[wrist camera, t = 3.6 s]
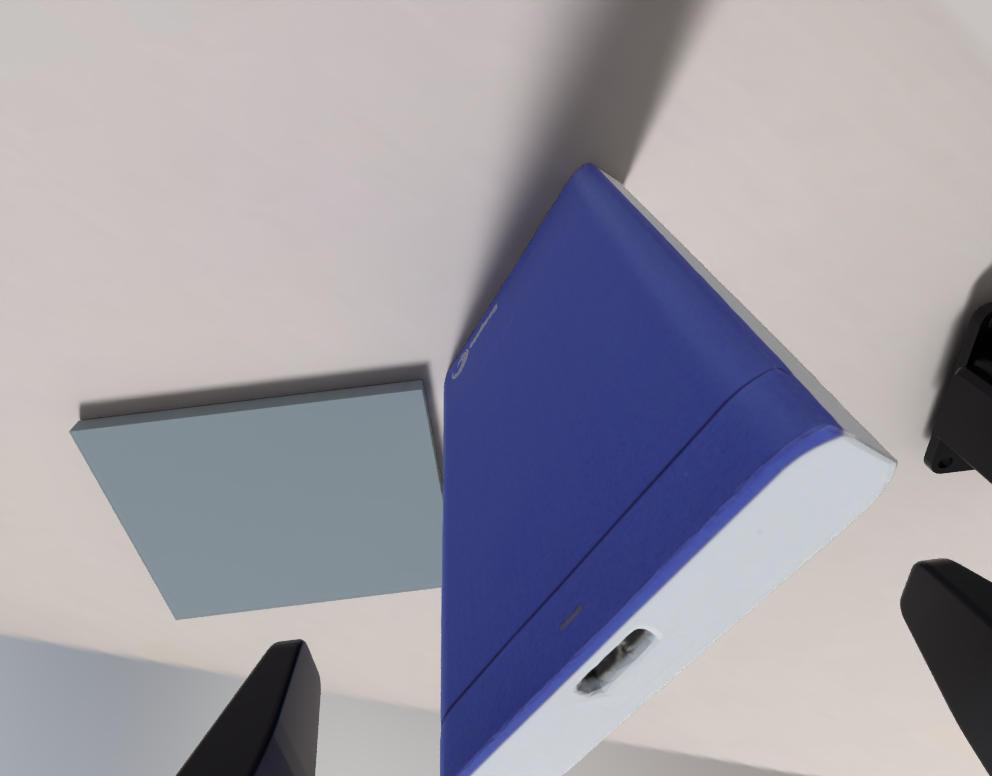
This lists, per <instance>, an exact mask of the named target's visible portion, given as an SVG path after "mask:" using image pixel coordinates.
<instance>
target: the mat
mask: <svg viewBox="0 0 992 776" xmlns="http://www.w3.org/2000/svg"><path fill="white" fill-rule="evenodd" d="M69 432H70V434H71V436H72V437H73V439H74V441H75V443H76V444H77V446H78V448H79V450H80V452H81V453H82V455H83V457H84V459H85V460H86V462H87V464H88V466H89V467H90V469H91V471H92V473H93V474H94V476H95V478H96V480H97V482H98V483H99V485H100V487H101V489H102V490H103V492H104V494H105V496H106V497H107V499H108V501H109V503H110V504H111V506H112V508H113V510H114V512H115V513H116V515H117V517H118V519H119V520H120V522H121V524H122V526H123V527H124V529H125V531H126V533H127V534H128V536H129V538H130V540H131V542H132V543H133V545H134V547H135V549H136V550H137V552H138V554H139V556H140V557H141V559H142V561H143V563H144V564H145V566H146V568H147V570H148V572H149V573H150V575H151V577H152V579H153V580H154V582H155V584H156V586H157V587H158V589H159V591H160V593H161V594H162V596H163V598H164V600H165V602H166V603H167V605H168V607H169V609H170V610H171V612H172V614H173V616H174V617H175V619H176V620H180V619H188V618H196V617H204V616H212V615H220V614H228V613H237V612H245V611H253V610H261V609H269V608H277V607H285V606H293V605H302V604H310V603H318V602H326V601H334V600H342V599H350V598H359V597H367V596H375V595H383V594H391V593H399V592H407V591H415V590H424V589H432V588H440V587H442V528H443V487H442V482H441V477H440V471H439V466H438V460H437V455H436V450H435V444H434V439H433V433H432V428H431V423H430V417H429V412H428V407H427V401H426V396H425V390H424V385H423V380H416V381H407V382H399V383H391V384H382V385H374V386H366V387H357V388H349V389H340V390H332V391H324V392H315V393H307V394H299V395H290V396H282V397H273V398H265V399H257V400H248V401H240V402H232V403H223V404H215V405H207V406H198V407H190V408H181V409H173V410H165V411H156V412H148V413H140V414H131V415H123V416H114V417H106V418H98V419H89V420H81V421H78V422H77V424H76V425H75V426H74V427H73V428H72V429H71V430H70V431H69Z"/></svg>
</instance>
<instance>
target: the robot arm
mask: <svg viewBox="0 0 992 776" xmlns="http://www.w3.org/2000/svg"><path fill="white" fill-rule="evenodd" d="M991 319H992V302H990V303H986V304H984V305H983V306H981V307H980V308H979V309H978V310H977V311H976V312H975V313H974V314H973V316H972V318H971V321H970V324H969V327H968V330H967V333H966V336H965V339H964V342H963V344H962V347H961V350H960V353H959V356H958V359H957V362H956V365H955V368H954V371H953V374H952V377H951V380H950V383H949V386H948V389H947V391H946V394H945V397H944V400H943V403H942V406H941V409H940V412H939V415H938V418H937V421H936V424H935V427H934V430H933V433H932V436H931V439H930V441H929V444H928V447H927V450H926V453H925V456H924V463H925V465H926V466H927V467H929V468H930V469H931V470H932V471H933V472H935V473H938V474H942V473H951V472H959V471H967V470H976V471H977V472H979V473H980V474H981V475H982V476H983V477H984V478H985V479H987V480H988V481H989V482H990V483H991V484H992V321H990V320H991ZM900 607H901V612H902V615H903V618H904V620H905V622H906V624H907V626H908V628H909V630H910V632H911V634H912V636H913V638H914V640H915V642H916V644H917V646H918V647H919V649H920V651H921V653H922V655H923V657H924V659H925V661H926V663H927V665H928V667H929V669H930V671H931V673H932V675H933V677H934V679H935V681H936V683H937V685H938V687H939V689H940V691H941V693H942V695H943V697H944V699H945V701H946V703H947V705H948V707H949V709H950V710H951V712H952V714H953V716H954V718H955V720H956V721H957V723H958V725H959V727H960V729H961V730H962V732H963V734H964V735H965V737H966V739H967V740H968V742H969V744H970V745H971V747H972V748H973V750H974V751H975V753H976V755H977V756H978V758H979V759H980V761H981V763H982V764H983V766H984V767H985V769H986V771H987V772H988V774H989V775H990V776H992V582H990V581H988V580H987V579H985V578H983V577H981V576H980V575H978V574H976V573H974V572H973V571H971V570H969V569H967V568H965V567H964V566H962V565H960V564H958V563H956V562H954V561H952V560H949V559H941V558H940V559H932V560H924V561H919V562H917V563H916V564H914V565H913V567H912V569H911V572H910V575H909V577H908V580H907V582H906V585H905V588H904V590H903V593H902V596H901V599H900ZM320 695H321V683H320V676H319V673H318V670H317V668H316V665H315V663H314V660H313V658H312V655H311V653H310V651H309V648H308V646H307V644H306V642H305V641H303V640H301V639H297V640H289V641H281V642H277V643H275V644H273V645H272V646H271V647H270V648H269V649H268V650H267V652H266V653H265V654H264V656H263V657H262V658H261V660H260V661H259V663H258V664H257V665H256V667H255V668H254V669H253V671H252V672H251V674H250V675H249V676H248V678H247V679H246V680H245V682H244V683H243V684H242V686H241V687H240V689H239V690H238V691H237V693H236V694H235V695H234V697H233V698H232V700H231V701H230V702H229V704H228V705H227V707H226V708H225V709H224V711H223V712H222V713H221V715H220V716H219V717H218V719H217V720H216V722H215V723H214V724H213V726H212V727H211V728H210V730H209V731H208V732H207V734H206V735H205V736H204V738H203V739H202V741H201V742H200V744H199V745H198V746H197V747H196V749H195V750H194V752H193V753H192V754H191V756H190V757H189V758H188V760H187V761H186V763H185V764H184V765H183V767H182V768H181V769H180V771H179V772H178V773H177V775H176V776H315V767H316V753H317V738H318V724H319V708H320Z"/></svg>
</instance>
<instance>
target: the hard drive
mask: <svg viewBox="0 0 992 776" xmlns="http://www.w3.org/2000/svg"><path fill="white" fill-rule="evenodd" d="M896 466H897V460H896V459H895V458H894V457H893V456H892V455H891V454H890V453H889V452H888V451H887V450H885V448H884V447H883V446H882V445H881V444H880V443H879V442H878V441H877V440H876V439H875V438H874V437H873V436H872V435H871V434H870V433H869V432H868V431H867V430H866V429H865V428H864V427H863V426H862V425H861V424H860V423H859V422H858V421H857V420H856V419H855V418H854V417H853V416H852V415H851V414H850V413H849V412H848V411H847V410H846V409H845V408H844V407H843V406H842V405H841V404H840V403H839V401H838V400H837V399H836V398H835V397H834V396H833V395H832V394H831V393H830V392H829V391H828V390H827V389H825V388H824V387H823V386H822V385H821V384H820V382H819V381H818V380H817V379H816V378H815V376H814V375H813V374H812V373H811V372H810V371H808V370H807V369H806V368H805V367H804V366H803V365H802V364H801V363H800V362H799V361H798V360H797V358H796V357H795V356H794V355H793V354H792V353H791V352H790V351H789V350H788V349H787V348H786V347H785V346H784V345H783V344H782V343H781V342H780V341H779V340H778V339H777V338H776V337H775V336H774V335H773V334H772V333H771V332H770V331H769V330H768V329H767V328H766V327H765V326H764V325H763V324H762V323H761V322H760V321H759V320H758V319H757V318H756V317H755V316H754V315H753V314H752V313H751V312H750V311H749V310H748V309H747V308H746V307H745V306H744V305H743V304H742V303H741V302H740V301H739V300H738V299H737V298H736V297H735V296H734V295H733V294H732V293H731V292H729V291H728V290H727V289H726V288H725V287H724V286H723V285H722V284H721V283H720V282H719V281H718V279H717V278H715V277H714V276H713V275H712V274H711V273H710V272H709V271H708V270H707V269H706V268H705V267H704V265H703V264H702V263H701V262H700V261H699V260H697V259H696V258H695V257H694V256H693V255H692V254H691V253H690V252H689V251H688V250H687V248H685V247H684V246H683V245H682V244H681V243H680V242H679V241H678V240H677V239H676V238H675V237H674V236H673V235H672V234H671V233H670V232H669V231H668V230H667V229H666V228H665V227H664V226H663V225H662V224H661V223H660V222H659V221H658V220H657V219H656V218H655V217H654V216H653V215H652V214H651V213H650V212H649V211H648V210H647V209H646V208H645V207H644V206H643V205H642V204H641V203H640V202H639V201H638V200H637V199H636V198H635V197H634V196H633V195H632V194H631V193H630V192H629V191H628V190H627V189H626V188H625V187H624V186H623V185H622V184H621V183H620V182H619V181H617V180H616V179H614V178H613V177H611V176H610V175H608V174H606V173H605V172H603V171H602V170H601V169H599V168H597V167H595V166H594V165H592V164H589V163H587V164H585V165H584V166H582V167H581V168H580V169H579V170H578V171H577V172H576V173H575V174H574V175H573V176H572V177H571V178H570V180H569V181H568V182H567V184H566V185H565V187H564V189H563V190H562V192H561V194H560V195H559V197H558V198H557V200H556V202H555V203H554V205H553V206H552V208H551V209H550V211H549V212H548V214H547V215H546V217H545V219H544V221H543V222H542V223H541V225H540V226H539V228H538V230H537V231H536V233H535V235H534V236H533V238H532V239H531V241H530V243H529V244H528V246H527V248H526V249H525V251H524V252H523V254H522V255H521V257H520V259H519V260H518V261H517V263H516V265H515V266H514V268H513V270H512V271H511V273H510V274H509V276H508V277H507V279H506V281H505V283H504V284H503V286H502V287H501V289H500V290H499V292H498V294H497V295H496V297H495V299H494V300H493V302H492V303H491V305H490V307H489V308H488V309H487V311H486V312H485V313H484V315H483V317H482V319H481V321H480V322H479V324H478V325H477V326H476V328H475V330H474V332H473V333H472V335H471V336H470V338H469V340H468V341H467V343H466V344H465V346H464V347H463V349H462V351H461V353H460V354H459V355H458V357H457V359H456V360H455V362H454V363H453V365H452V367H451V368H450V370H449V371H448V373H447V375H446V378H445V383H444V434H443V528H442V611H441V739H440V776H562V775H563V774H565V773H566V772H567V771H568V770H569V769H570V768H572V767H573V766H574V765H575V764H576V763H578V762H579V761H580V760H581V759H582V758H583V757H584V756H585V755H586V754H587V753H588V752H589V751H591V750H592V749H593V748H594V747H595V746H597V745H598V744H599V743H600V742H601V741H602V740H603V739H604V738H605V737H606V736H607V735H609V734H610V733H611V732H612V731H613V730H614V729H615V728H616V727H617V726H618V725H620V724H621V723H622V722H623V721H624V720H625V719H627V718H628V717H629V716H630V715H631V714H632V713H633V712H634V711H636V710H637V709H638V708H639V707H640V706H641V705H642V704H643V703H644V702H645V701H647V700H648V699H649V698H650V697H651V696H652V695H653V694H655V693H656V692H657V691H659V690H661V689H662V688H663V687H664V686H665V685H666V684H667V683H668V682H669V681H670V680H671V679H672V678H673V677H674V676H676V675H677V674H678V673H679V672H680V671H682V670H683V669H684V668H685V667H686V666H687V665H689V664H690V663H691V662H692V661H693V660H694V659H695V658H696V657H697V656H698V655H699V654H701V653H702V652H703V651H704V650H706V649H707V648H708V647H709V646H710V645H711V644H712V643H713V642H714V641H715V640H716V639H718V638H719V637H720V636H721V635H722V634H723V633H724V632H726V631H727V630H728V629H729V628H730V627H731V626H733V625H734V624H735V623H736V622H737V621H738V620H739V619H741V618H742V617H743V616H744V615H745V614H746V613H747V612H749V611H750V610H751V609H753V608H754V607H756V606H757V605H758V604H759V603H760V602H761V601H762V600H763V599H764V598H765V597H766V596H767V595H768V594H769V593H770V592H771V591H772V590H773V589H774V588H775V587H777V586H778V585H780V584H781V583H782V582H783V581H785V580H786V579H787V578H788V577H789V576H790V575H792V574H793V573H794V572H795V571H796V570H797V569H798V568H799V567H800V566H801V565H802V564H804V563H805V562H806V561H807V560H808V559H809V558H811V557H812V556H813V555H814V554H815V553H817V552H818V551H819V550H820V549H822V548H823V547H824V546H825V545H826V544H827V543H828V542H829V541H831V540H832V539H833V538H834V537H835V536H836V535H837V534H839V533H840V532H841V531H842V530H843V529H845V528H846V527H847V526H848V525H849V524H850V523H851V522H852V521H853V520H854V519H855V518H856V517H858V516H859V515H860V514H861V513H863V512H864V511H865V510H866V509H867V508H868V506H869V505H870V504H871V503H872V502H873V501H874V500H875V499H876V498H877V497H878V496H879V495H880V493H881V492H882V490H883V489H884V488H885V486H886V485H887V484H888V482H889V481H890V479H891V478H892V476H893V473H894V471H895V469H896Z"/></svg>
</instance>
